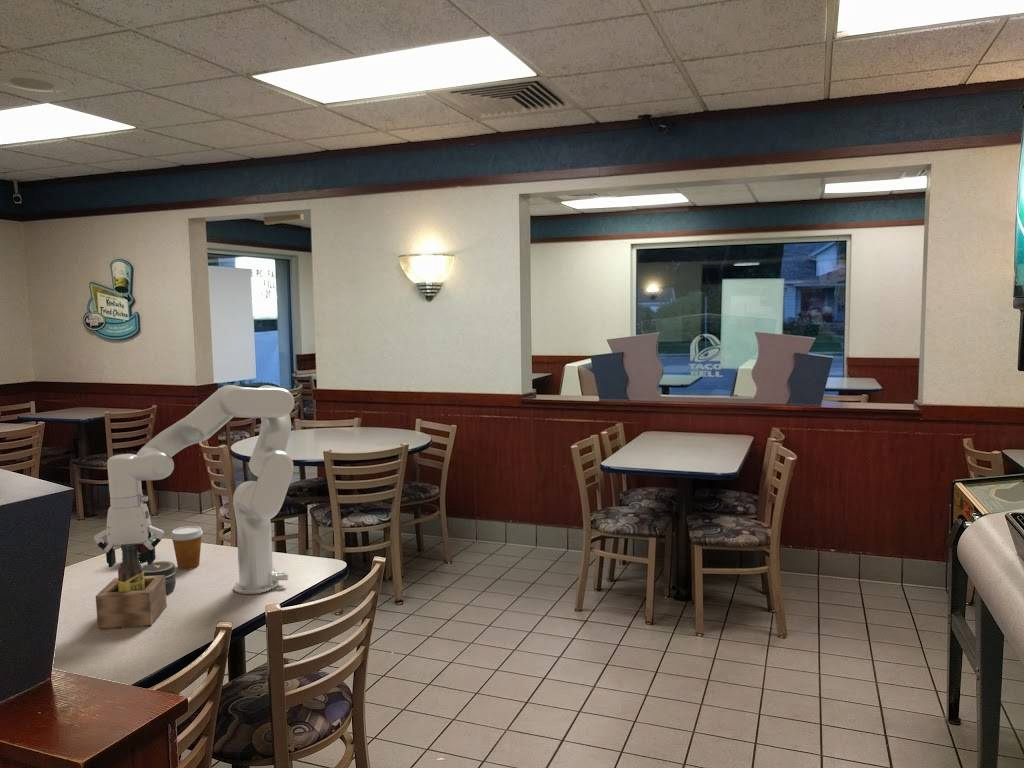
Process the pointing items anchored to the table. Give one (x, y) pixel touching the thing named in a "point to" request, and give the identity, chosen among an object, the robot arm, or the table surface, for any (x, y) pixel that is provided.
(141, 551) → the beverage can
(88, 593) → the table surface
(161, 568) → the jar
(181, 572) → the table surface
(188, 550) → the disposable coffee cup
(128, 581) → the sauce bottle
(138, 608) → the walnut box
